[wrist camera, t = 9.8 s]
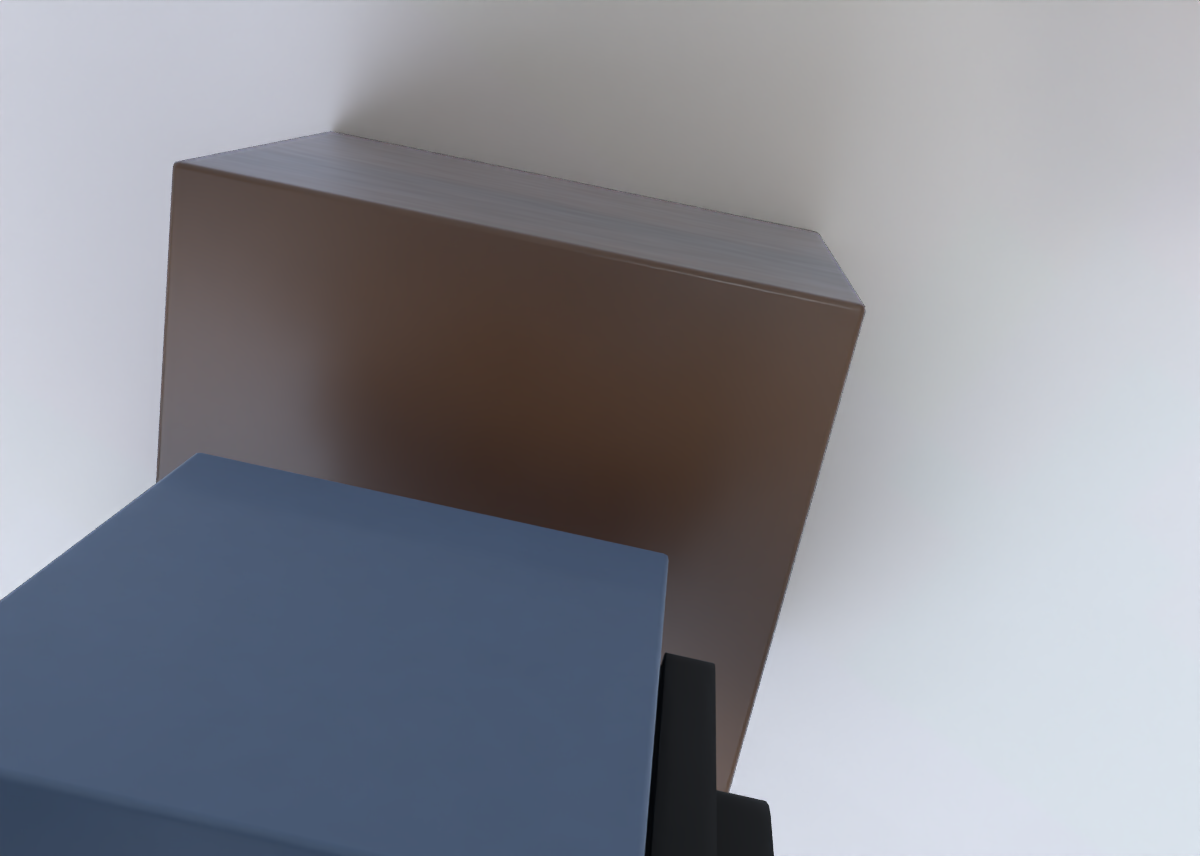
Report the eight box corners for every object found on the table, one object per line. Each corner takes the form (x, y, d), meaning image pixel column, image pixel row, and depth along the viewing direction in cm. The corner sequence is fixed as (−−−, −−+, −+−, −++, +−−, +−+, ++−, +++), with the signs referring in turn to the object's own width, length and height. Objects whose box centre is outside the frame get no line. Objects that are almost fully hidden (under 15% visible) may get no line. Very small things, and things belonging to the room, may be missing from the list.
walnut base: (327, 130, 19) (170, 160, 14) (820, 231, 19) (868, 306, 13) (283, 569, 22) (139, 743, 17) (707, 662, 22) (708, 870, 16)
